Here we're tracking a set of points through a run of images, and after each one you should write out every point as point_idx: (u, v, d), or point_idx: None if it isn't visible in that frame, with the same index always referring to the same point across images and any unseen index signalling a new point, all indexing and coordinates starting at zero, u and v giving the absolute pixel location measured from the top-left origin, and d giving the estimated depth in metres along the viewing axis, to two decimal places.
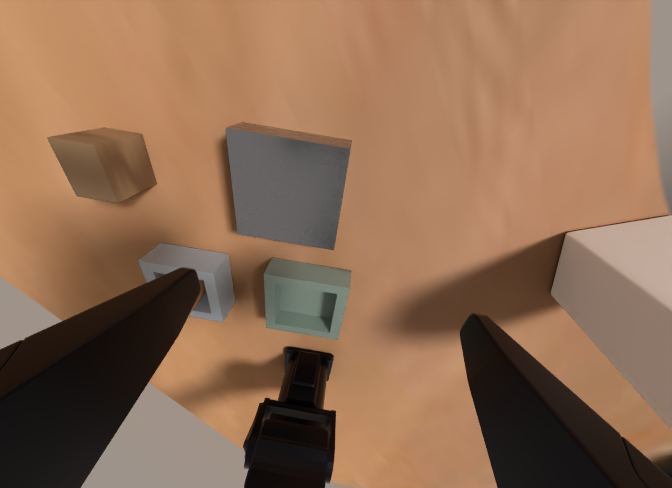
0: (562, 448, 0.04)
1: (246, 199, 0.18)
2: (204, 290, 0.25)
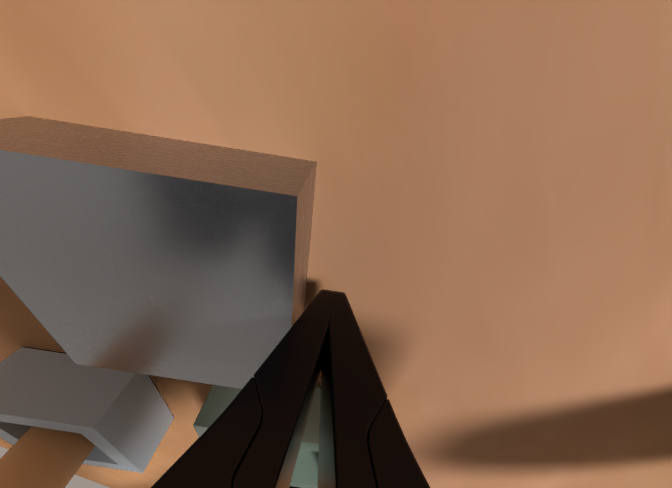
0: (329, 410, 0.05)
1: (58, 309, 0.07)
2: None
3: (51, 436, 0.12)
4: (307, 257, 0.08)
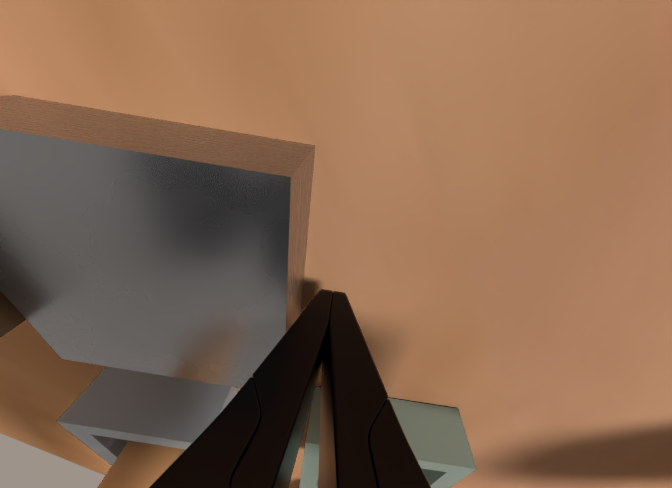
0: (330, 411, 0.05)
1: (40, 301, 0.07)
2: None
3: (153, 451, 0.12)
4: (304, 250, 0.08)
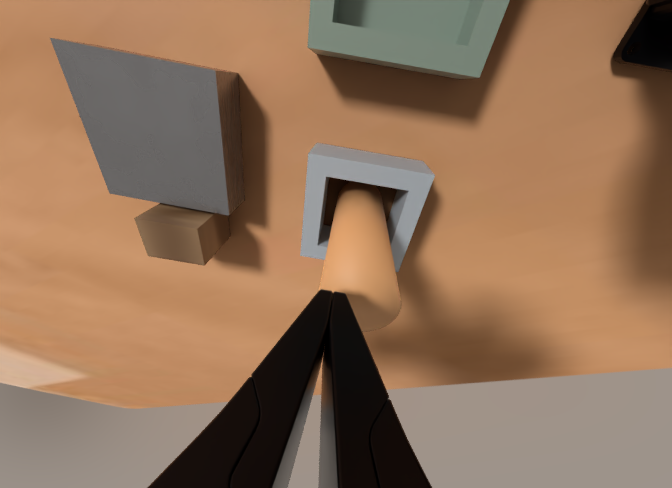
0: (331, 411, 0.05)
1: (178, 192, 0.15)
2: (364, 191, 0.15)
3: (336, 209, 0.15)
4: (148, 55, 0.13)
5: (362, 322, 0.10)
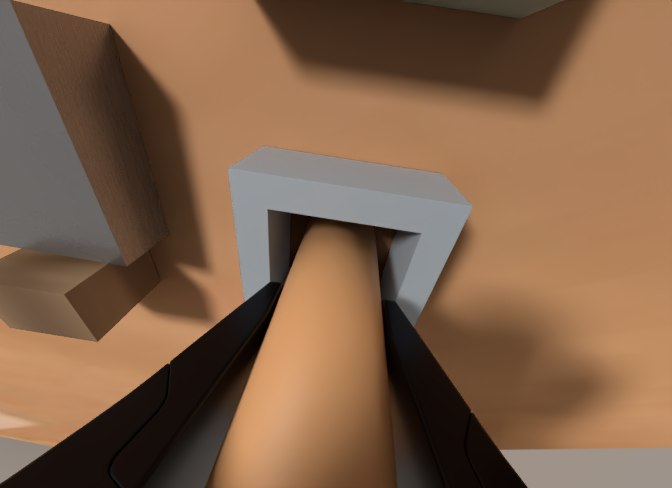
0: (413, 424, 0.05)
1: (36, 232, 0.09)
2: (342, 230, 0.09)
3: (293, 262, 0.08)
4: None
5: None
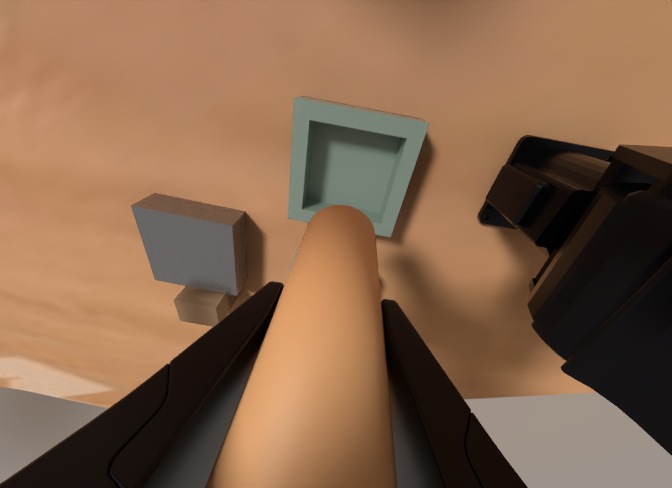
0: (413, 424, 0.05)
1: (202, 281, 0.23)
2: (342, 230, 0.09)
3: (293, 263, 0.08)
4: (187, 202, 0.21)
5: None
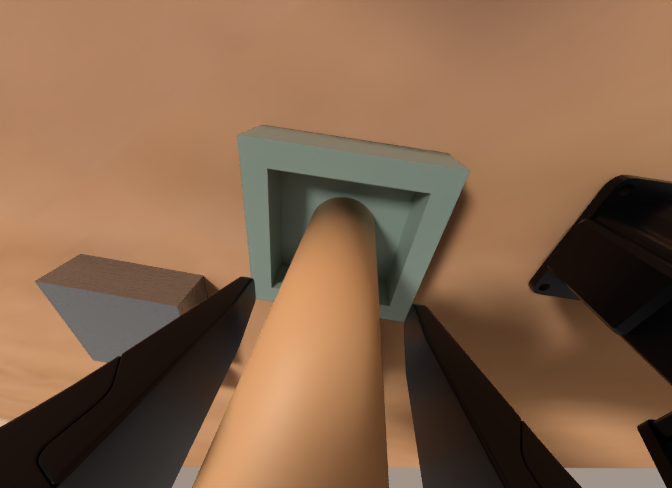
0: (463, 432, 0.05)
1: None
2: (343, 218, 0.09)
3: None
4: (123, 266, 0.15)
5: None
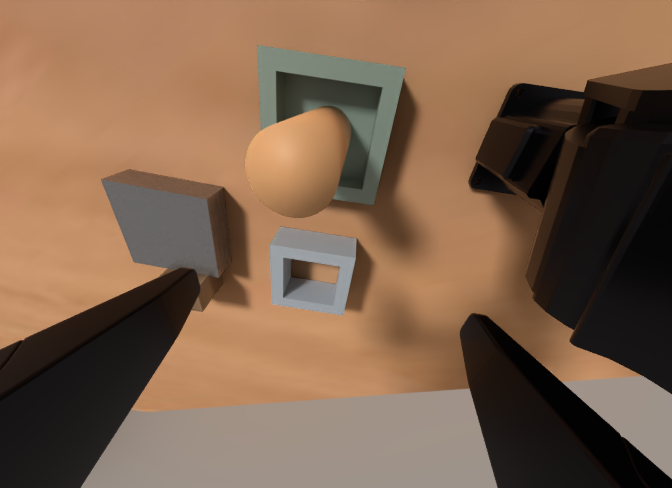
0: (562, 448, 0.05)
1: (182, 263, 0.22)
2: (326, 107, 0.14)
3: None
4: (162, 177, 0.20)
5: (300, 201, 0.09)
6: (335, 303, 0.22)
